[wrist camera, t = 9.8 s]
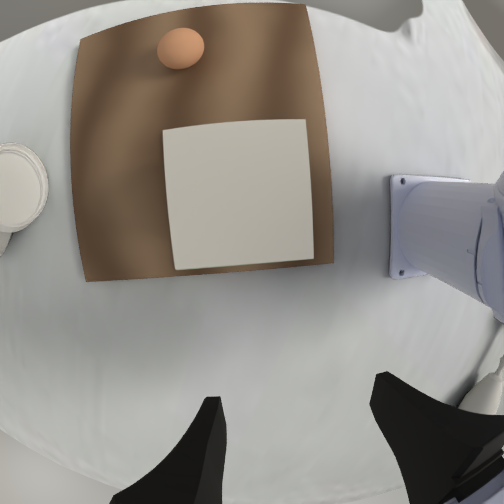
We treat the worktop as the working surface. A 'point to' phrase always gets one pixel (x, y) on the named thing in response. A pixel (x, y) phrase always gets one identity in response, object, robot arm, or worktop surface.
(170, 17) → the walnut board
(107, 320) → the worktop surface
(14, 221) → the spread jar
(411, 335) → the worktop surface
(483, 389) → the chalice
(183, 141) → the rounded beige cube
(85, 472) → the worktop surface
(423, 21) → the worktop surface
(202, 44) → the terracotta ball
